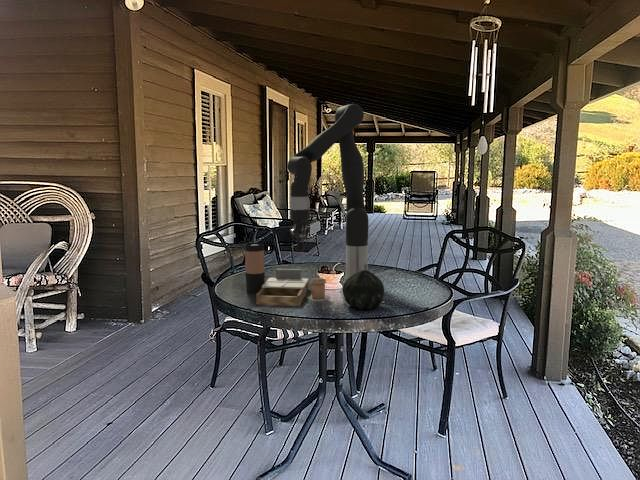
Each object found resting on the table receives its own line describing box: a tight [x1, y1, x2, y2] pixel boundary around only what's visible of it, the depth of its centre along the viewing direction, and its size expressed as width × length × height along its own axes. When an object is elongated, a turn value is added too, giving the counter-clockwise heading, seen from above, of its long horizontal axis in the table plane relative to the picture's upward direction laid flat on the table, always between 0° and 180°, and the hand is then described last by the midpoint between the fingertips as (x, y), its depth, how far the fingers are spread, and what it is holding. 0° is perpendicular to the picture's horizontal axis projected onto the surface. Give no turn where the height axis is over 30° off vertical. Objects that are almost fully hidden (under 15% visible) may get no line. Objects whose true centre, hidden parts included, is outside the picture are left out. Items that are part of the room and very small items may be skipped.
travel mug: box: [244, 242, 266, 294], centre depth 203 cm, size 8×8×20 cm
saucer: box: [306, 294, 331, 302], centre depth 193 cm, size 9×9×1 cm
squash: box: [342, 270, 385, 311], centre depth 182 cm, size 14×15×15 cm
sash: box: [262, 268, 309, 289], centre depth 199 cm, size 16×14×4 cm
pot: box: [310, 277, 327, 300], centre depth 193 cm, size 6×6×7 cm
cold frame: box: [255, 279, 310, 307], centre depth 195 cm, size 16×24×5 cm, turn 174°
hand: (300, 251), depth 202 cm, fingers closed
